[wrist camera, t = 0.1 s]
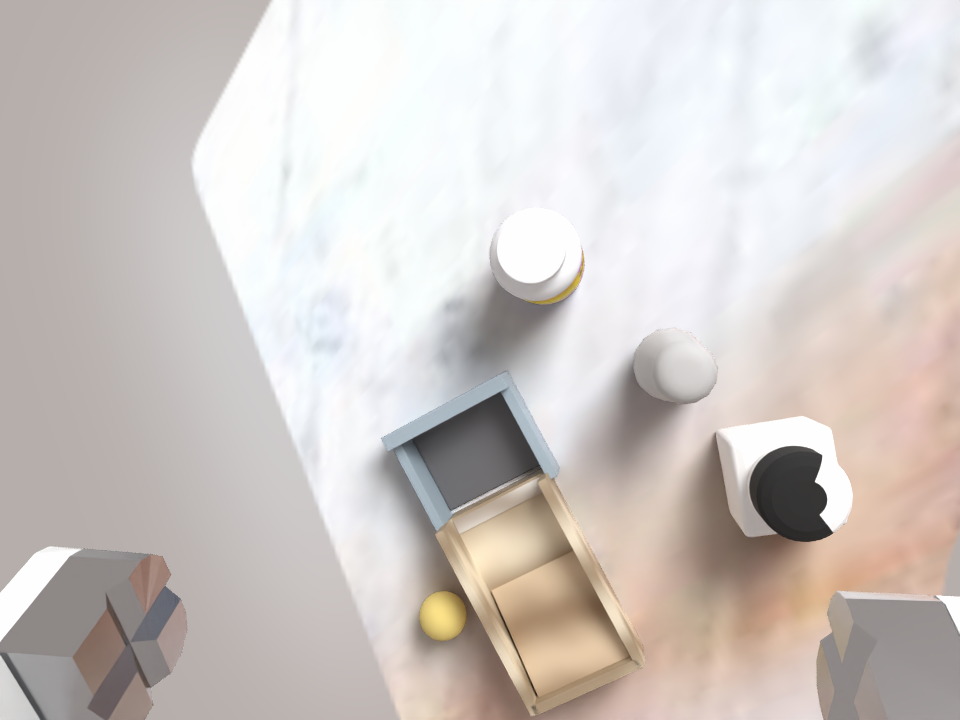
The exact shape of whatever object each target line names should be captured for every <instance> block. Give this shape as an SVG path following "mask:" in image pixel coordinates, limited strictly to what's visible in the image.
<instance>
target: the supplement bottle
mask: <svg viewBox="0 0 960 720" xmlns="http://www.w3.org/2000/svg"><path fill="white" fill-rule="evenodd" d="M490 264H491V268H492V271H493V274H494V276H495V278H496V279H497V281H498V282H499V284H500V285H501V286H502V287H503V288H504V289H505V290H506V291H507V292H509V293H510V294H512V295H514V296H516V297H518V298H520V299H523V300H525V301H528V302H531V303H534V304H541V305H547V304H553V303H557V302H559V301H562V300H564V299H565V298H567V297H568V296H569V295H570V294H572V293H573V292H574V290H575V289H576V288H577V287H578V285H579V283H580V281H581V279H582V276H583V272H584V255H583V250H582V247H581V243H580V240H579V237H578V235H577V233H576V231H575V229H574V227H573V226H572V225H571V224H570V222H569V221H568V220H567V219H565V218H564V217H563V216H561V215H560V214H558V213H556V212H554V211H551V210H548V209H543V208H530V209H525V210H522V211H519V212H516V213H515V214H513V215H511V216H510V217H508V218H507V219H506V220H505V221H503V223H502V224H501V225H500V226H499V227H498V229H497V230H496V232H495V234H494V236H493V239H492V242H491V246H490Z"/></svg>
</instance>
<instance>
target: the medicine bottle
mask: <svg viewBox="0 0 960 720" xmlns="http://www.w3.org/2000/svg"><path fill="white" fill-rule="evenodd" d="M716 439H717V444H718V450H719V455H720V461H721V466H722V472H723V478H724V483H725V489H726V494H727V500H728V506H729V511H730V513H731V515H732V516H733V518H734V519H735V521H736V522H737V524H738V525H739V527H740V528H741V530H742V531H743V532H744V534H745V535H746V536H747V537H757V536H764V535H772V534H779V535H781V536H783V537H785V538H787V539H790V540H794V541H801V542H810V541H816V540H820V539H823V538H826V537H828V536H830V535H831V534H833V533H834V532H836V531H837V530H838V529H839V528H840V527H841V526H842V525H845V524H846V523H847V517H848V515H849V513H850V510H851V507H852V499H853V494H852V488H851V484H850V482H849V479H848V477H847V475H846V474H845V472H844V471H843V470H842V469H841V467H840V466H839V465H838V464H837V458H836V453H835V447H834V441H833V436H832V431H831V429H830V428H829V427H827V426H825V425H822V424H820V423H818V422H816V421H813V420H811V419H809V418H807V417H805V416H799V417H793V418H787V419H780V420H774V421H767V422H761V423H755V424H748V425H742V426H736V427H729V428H723V429H719V430H717V431H716Z"/></svg>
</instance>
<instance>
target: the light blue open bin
mask: <svg viewBox="0 0 960 720" xmlns="http://www.w3.org/2000/svg"><path fill="white" fill-rule="evenodd" d="M412 438H413V439H412ZM381 439H382V441H383V443H384V445H385V447H386V449H387V451H390V450H391V449H393V450H394V452H395V454H396V456H397V458H398V460H399V462H400V463H401V465H402V467H403V469H404V471H405V473H406V475H407V477H408V479H409V480H410V482H411V484H412V486H413V488H414V490H415V492H416V494H417V496H418V497H419V499H420V501H421V503H422V505H423V507H424V509H425V511H426V513H427V514H428V516H429V518H430V520H431V522H432V524H433V526H434V528H435V530H436V531H438V530H439V529H440V527H441V526H443V525H444V524H445V523H446V522H447V521H448V520H449V519H450V518H451V517H452V516H453V515H452V513H451V511H450V510H452V509H454V508H456V507H458V506H460V505H462V504H464V503H466V502H468V501H470V500H472V499H474V498H475V497H477V496H479V495H481V494H483V493H485V492H487V491H489V490H491V489H493V488H495V487H497V486H499V485H501V484H503V483H505V482H507V481H509V480H511V479H513V478H515V477H517V476H519V475H521V474H523V473H524V472H526V471H528V470H530V469H532V468H534V467H536V466H538V465H540V466H541V468H542V470H543V471H544V473H545V474H546V473H547V472H548V474H549V476H550V478H551V479H552V478H554V477H556V476H557V475H558V472H559V468H560V467H559V465H558V464H557V462H556V460H555V458H554V456H553V454H552V452H551V451H550V449H549V447H548V445H547V443H546V441H545V439H544V438H543V436H542V434H541V432H540V430H539V428H538V426H537V425H536V423H535V421H534V419H533V417H532V415H531V413H530V411H529V410H528V408H527V406H526V404H525V402H524V400H523V398H522V397H521V395H520V393H519V391H518V389H517V387H516V385H515V384H514V382H513V380H512V378H511V376H510V374H509V372H508V371H506V372H504V373H501V374H499V375H498V376H496V377H494V378H492V379H490V380H488V381H486V382H485V383H483V384H481V385H479V386H477V387H475V388H473V389H472V390H470V391H468V392H466V393H464V394H462V395H460V396H459V397H457V398H455V399H453V400H451V401H449V402H447V403H446V404H444V405H442V406H440V407H438V408H436V409H434V410H433V411H431V412H429V413H427V414H425V415H423V416H421V417H420V418H418V419H416V420H414V421H412V422H410V423H408V424H406V425H405V426H403V427H401V428H399V429H397V430H395V431H393V432H392V433H390V434H388V435H386V436H384V437H382V438H381ZM413 440H414V441H413ZM414 442H415V443H414ZM415 444H416V445H415ZM416 446H417V447H416ZM417 448H418V449H417ZM419 451H420V452H419ZM420 453H421V454H420ZM421 455H422V456H421ZM422 457H423V458H422ZM423 459H424V460H423ZM424 461H425V462H424ZM425 463H426V464H425ZM426 465H427V466H428V467H427V466H426ZM428 468H429V469H428ZM429 470H430V471H429ZM430 472H431V473H430ZM431 474H432V475H431ZM432 476H433V477H432ZM433 478H434V479H433ZM434 480H435V481H434ZM436 483H437V484H436ZM437 485H438V486H437ZM438 487H439V488H438ZM439 489H440V490H439ZM440 491H441V492H440ZM441 493H442V494H441ZM442 495H443V496H442ZM443 497H444V498H445V499H444V498H443ZM445 500H446V501H445ZM446 502H447V503H446ZM447 504H448V505H447ZM448 506H449V507H448ZM449 508H450V509H449Z"/></svg>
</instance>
